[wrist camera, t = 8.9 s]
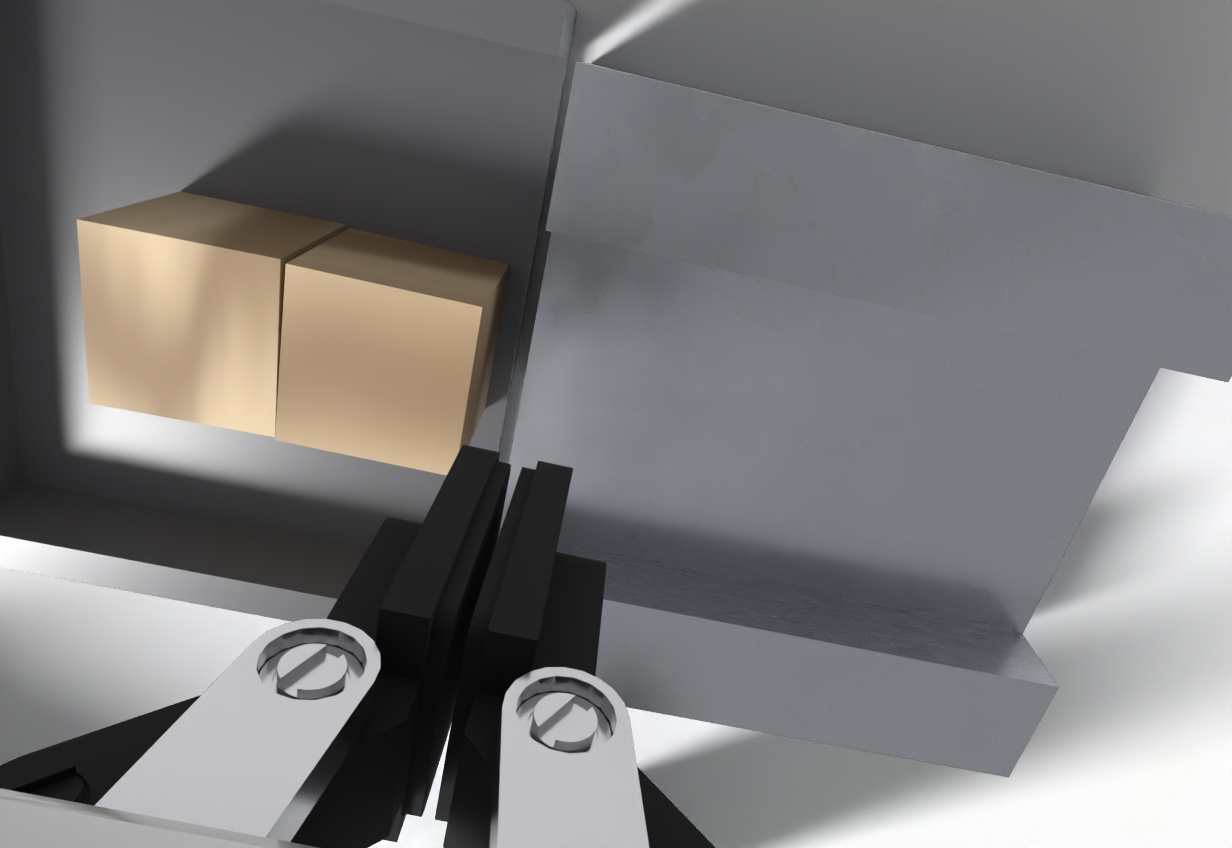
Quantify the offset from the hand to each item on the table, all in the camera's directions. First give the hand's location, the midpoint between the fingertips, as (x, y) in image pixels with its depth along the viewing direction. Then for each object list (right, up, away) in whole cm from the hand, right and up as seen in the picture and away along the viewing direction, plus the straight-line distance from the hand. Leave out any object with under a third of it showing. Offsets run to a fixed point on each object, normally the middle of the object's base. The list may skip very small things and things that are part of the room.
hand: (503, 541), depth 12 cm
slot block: (+6, +2, +10) cm, 12 cm away
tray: (-8, +5, +9) cm, 13 cm away
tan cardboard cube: (-5, +4, +7) cm, 10 cm away
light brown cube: (-3, +4, +9) cm, 10 cm away
